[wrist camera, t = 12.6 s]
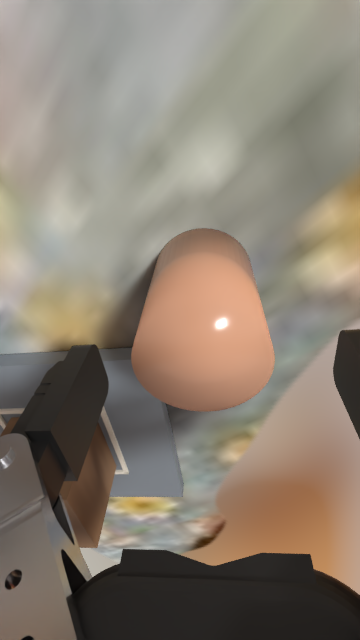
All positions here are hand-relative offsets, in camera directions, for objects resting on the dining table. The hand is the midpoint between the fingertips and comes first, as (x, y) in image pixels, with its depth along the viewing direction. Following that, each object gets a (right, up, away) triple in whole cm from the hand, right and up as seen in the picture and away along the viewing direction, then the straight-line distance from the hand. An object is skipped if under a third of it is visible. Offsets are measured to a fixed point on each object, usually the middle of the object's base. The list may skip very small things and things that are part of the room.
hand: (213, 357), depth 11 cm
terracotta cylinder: (0, +3, +4) cm, 5 cm away
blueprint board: (-9, -6, +11) cm, 16 cm away
